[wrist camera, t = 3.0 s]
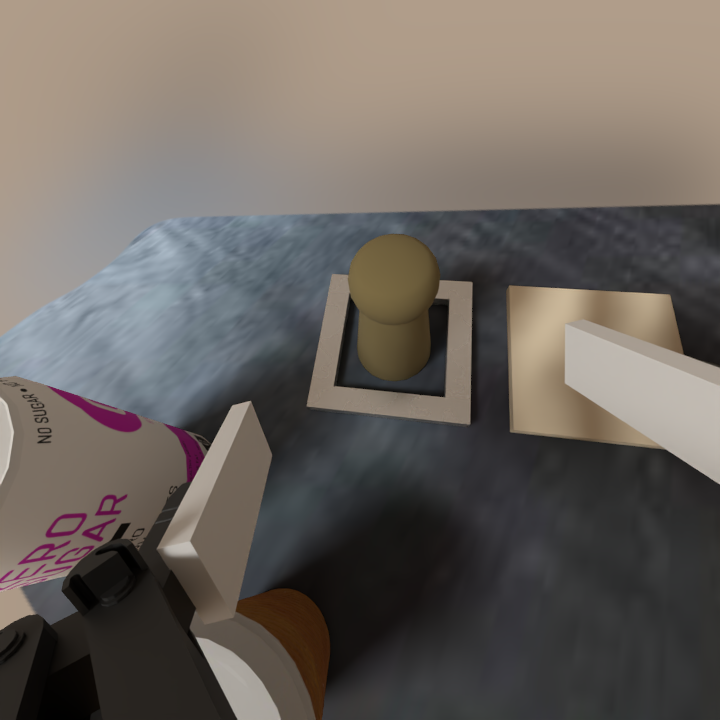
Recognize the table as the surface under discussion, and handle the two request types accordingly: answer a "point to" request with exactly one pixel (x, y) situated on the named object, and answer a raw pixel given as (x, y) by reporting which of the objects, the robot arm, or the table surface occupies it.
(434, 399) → the shaker dock
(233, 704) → the disposable coffee cup
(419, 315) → the cork
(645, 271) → the table surface
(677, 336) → the birch board
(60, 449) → the supplement can
